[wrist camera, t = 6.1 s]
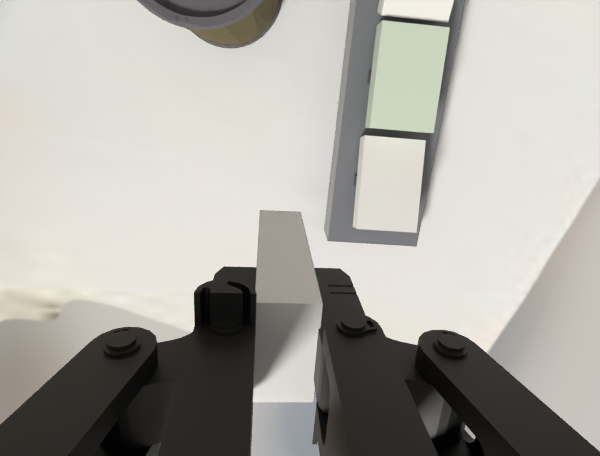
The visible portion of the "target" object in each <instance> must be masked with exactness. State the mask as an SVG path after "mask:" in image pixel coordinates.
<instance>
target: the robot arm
mask: <svg viewBox="0 0 600 456" xmlns="http://www.w3.org/2000/svg"><path fill="white" fill-rule="evenodd" d="M194 311H195V327H194V330H193V332H192V333H190V334H189V335H186V336H184V337H182V338H179V339H175V340H171V341H165V342H160V343H157V341H156V336H155V335H154V334H153V333H152V332H150V331H149V330H146V329H143V328H139V327H123V328H117V329H113V330H111V331H108V332H106V333H103V334H101V335H99V336H98V337H97V338H95V339H94V340H92V341H91V342H90V343H89V344H88V345H87V346H85V347H84V348H83V349H82V350H81V351H80V352H79V353H78V354H77V355H76V356H75V357H73V358H72V359H71V360H70V361H69V362H68V363H67V364H66V365H65V366H64V367H63V368H62V369H60V370H59V371H58V372H57V373H56V374H55V375H54V376H53V377H52V378H51V379H50V380H48V381H47V382H46V383H45V384H44V385H43V386H42V387H41V388H40V389H39V390H38V391H37V392H35V393H34V394H33V395H32V396H31V397H30V398H29V399H28V400H27V401H26V402H25V403H23V404H22V405H21V406H20V407H19V408H18V409H17V410H16V411H15V412H14V413H13V414H12V415H10V417H8V418H7V419H6V420H5V421H4V422H3V423H2V424H1V425H0V456H157V455H158V456H251V438H252V415H253V402H313V400H314V390H315V392H316V398H317V404H316V414H315V424H314V434H313V444H317V442H318V445H319V452H320V456H600V452H599V451H598V450H597V449H596V448H595V447H594V446H592V445H591V444H590V443H589V442H588V441H587V440H585V439H584V438H583V437H582V436H581V435H580V434H579V433H578V432H576V431H575V430H574V429H573V428H572V427H571V426H569V425H568V424H567V423H566V422H565V421H564V420H563V419H561V418H560V417H559V416H558V415H557V414H556V413H555V412H553V411H552V410H551V409H550V408H549V407H548V406H547V405H545V404H544V403H543V402H542V401H541V400H539V399H538V398H537V397H536V396H535V395H534V394H533V393H532V392H530V391H529V390H528V389H527V388H526V387H525V386H524V385H522V384H521V383H520V382H519V381H518V380H516V378H514V377H513V376H512V375H511V374H510V373H509V372H507V371H506V370H505V369H504V368H503V367H502V366H501V365H499V364H498V363H497V362H496V361H495V360H494V359H493V358H491V357H490V356H489V355H488V354H487V353H486V352H485V351H483V350H482V349H481V348H480V347H479V346H478V345H476V344H475V343H474V342H472V341H471V340H469V339H468V338H466V337H464V336H462V335H459V334H457V333H455V332H452V331H447V330H431V331H428V332H425V333H423V334H422V335H421V336H420V337H419V341H418V345H413V344H409V343H404V342H399V341H396V340H392V339H389V338H387V337H385V335H384V332H383V330H382V328H381V327H380V325H379V324H378V323H377V322H376V321H375V320H373V319H371V318H370V317H368V316H365V313H364V311H363V308H362V306H361V303H360V301H359V298H358V296H357V295H356V291H355V289H354V287H353V284H352V281H351V279H350V276H348V275H347V274H346V273H345V272H343V271H342V270H341V269H334V268H314V265H313V261H312V257H311V253H310V249H309V244H308V240H307V236H306V232H305V228H304V224H303V219H302V215H301V212H290V211H266V210H260V219H259V236H258V253H257V268H255V267H223V268H222V269H220V270H219V271H218V272H217V273H216V274H215V276H214V279H213V281H209V282H206V283H204V284H202V285H200V286H199V287H198V288H197V289H196V290H195V292H194ZM465 424H466V425H467V426H468V428H469V429H470V430H471V431H472V432H473V434H474V435H475V436H476V438H475V440H474V439H473V438H472V437H471V436H470V435H468V433H467V432H466V431H465V430H464V428H465Z"/></svg>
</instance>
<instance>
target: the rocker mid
mask: <svg viewBox="0 0 600 456" xmlns="http://www.w3.org/2000/svg"><path fill="white" fill-rule="evenodd" d="M449 30H450V27H441V26H431V25H422V24H413V23H403V22H394V21H385V20H382V21H381V22H380V23H379V24H378V25H377V28H376V37H375V45H374V54H373V63H372V71H371V80H370V89H369V97H368V106H367V114H366V123H365V128H376V129H387V130H399V131H411V132H423V133H434V127H435V121H436V114H437V108H438V101H439V95H440V88H441V82H442V75H443V69H444V62H445V56H446V49H447V43H448V37H449Z"/></svg>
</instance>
